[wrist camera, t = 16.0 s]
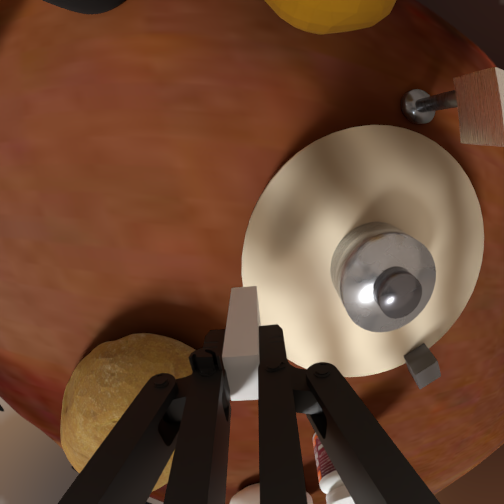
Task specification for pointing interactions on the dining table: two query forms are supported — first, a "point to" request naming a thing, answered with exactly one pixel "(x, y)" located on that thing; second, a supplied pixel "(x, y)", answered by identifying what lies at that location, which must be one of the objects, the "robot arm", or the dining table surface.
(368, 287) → the cover
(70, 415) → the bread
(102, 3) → the mug
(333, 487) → the pill bottle
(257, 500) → the teapot
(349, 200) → the platter
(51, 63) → the dining table surface
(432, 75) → the dining table surface
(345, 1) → the apple
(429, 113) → the silver rod with block
